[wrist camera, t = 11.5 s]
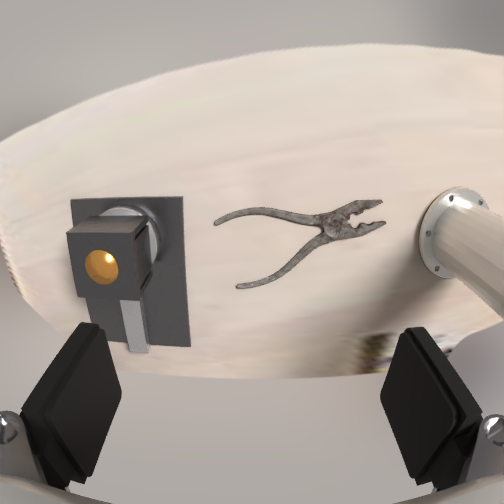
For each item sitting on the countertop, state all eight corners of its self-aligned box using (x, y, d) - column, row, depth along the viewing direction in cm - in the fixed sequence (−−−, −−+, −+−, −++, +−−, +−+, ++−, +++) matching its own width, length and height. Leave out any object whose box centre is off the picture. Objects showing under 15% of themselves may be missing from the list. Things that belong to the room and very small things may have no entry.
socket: (148, 215, 33) (130, 232, 28) (152, 275, 36) (138, 301, 30) (90, 215, 33) (65, 232, 27) (97, 273, 35) (77, 297, 30)
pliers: (200, 229, 36) (361, 147, 33) (201, 227, 37) (358, 147, 34) (241, 297, 39) (390, 222, 36) (241, 293, 40) (387, 220, 37)
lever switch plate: (182, 196, 35) (172, 209, 29) (191, 348, 42) (185, 377, 37) (72, 199, 34) (47, 212, 29) (97, 340, 42) (83, 366, 36)
